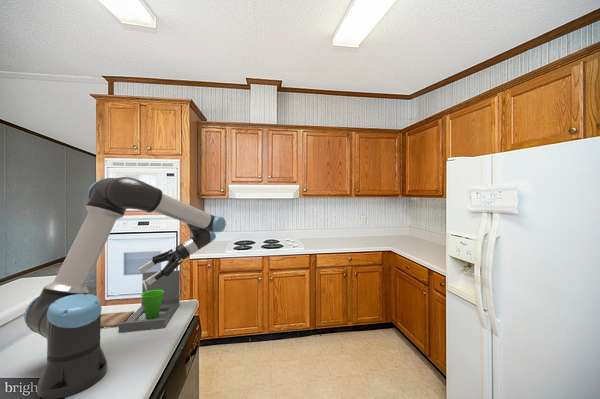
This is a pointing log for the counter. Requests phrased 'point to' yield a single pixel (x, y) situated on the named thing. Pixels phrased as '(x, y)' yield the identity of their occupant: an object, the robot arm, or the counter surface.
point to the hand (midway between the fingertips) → (143, 276)
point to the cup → (152, 303)
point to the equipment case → (168, 303)
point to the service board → (114, 319)
